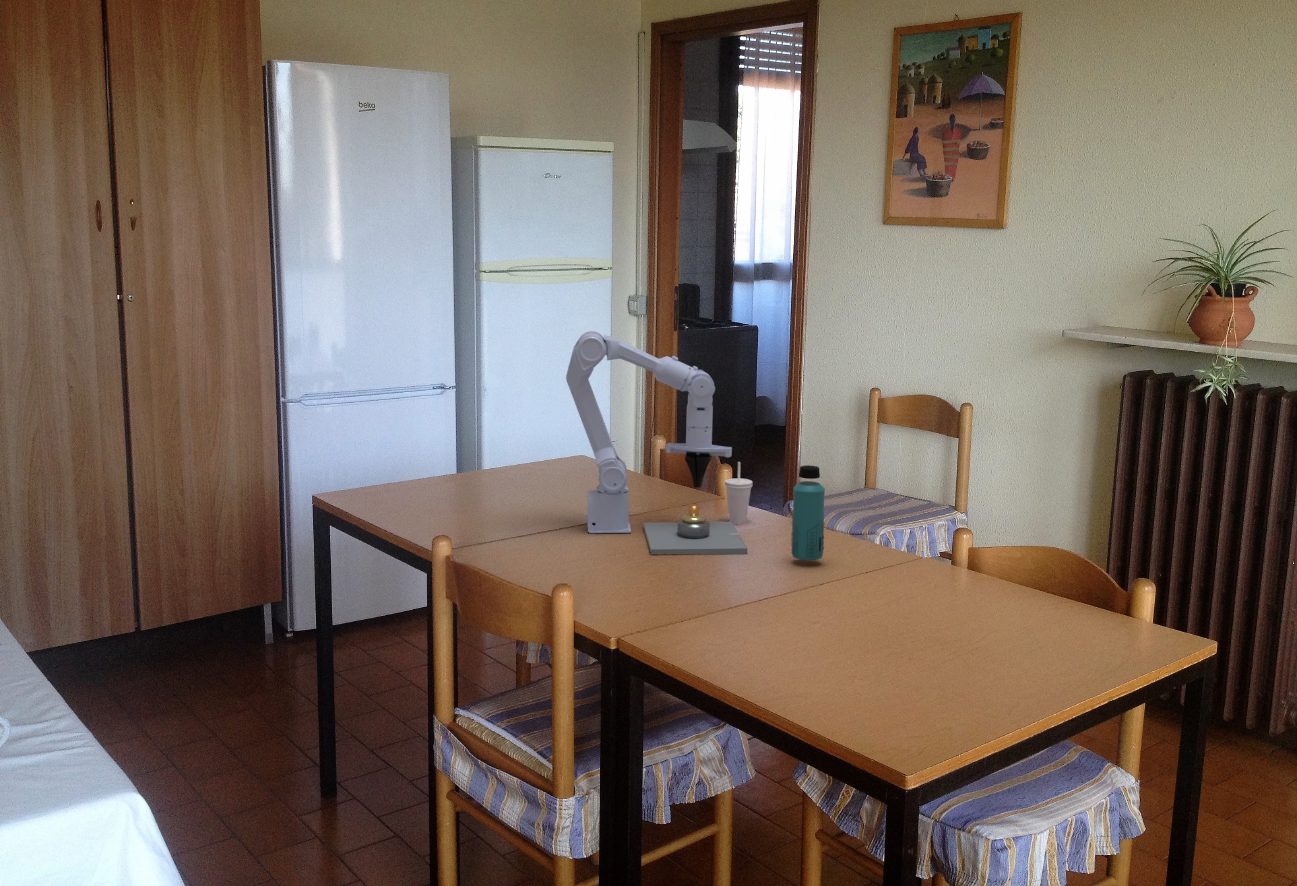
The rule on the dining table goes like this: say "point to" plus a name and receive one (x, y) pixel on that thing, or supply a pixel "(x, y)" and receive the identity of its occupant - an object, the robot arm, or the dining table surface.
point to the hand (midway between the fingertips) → (697, 486)
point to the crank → (693, 524)
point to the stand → (693, 539)
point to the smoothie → (738, 498)
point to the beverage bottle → (808, 516)
